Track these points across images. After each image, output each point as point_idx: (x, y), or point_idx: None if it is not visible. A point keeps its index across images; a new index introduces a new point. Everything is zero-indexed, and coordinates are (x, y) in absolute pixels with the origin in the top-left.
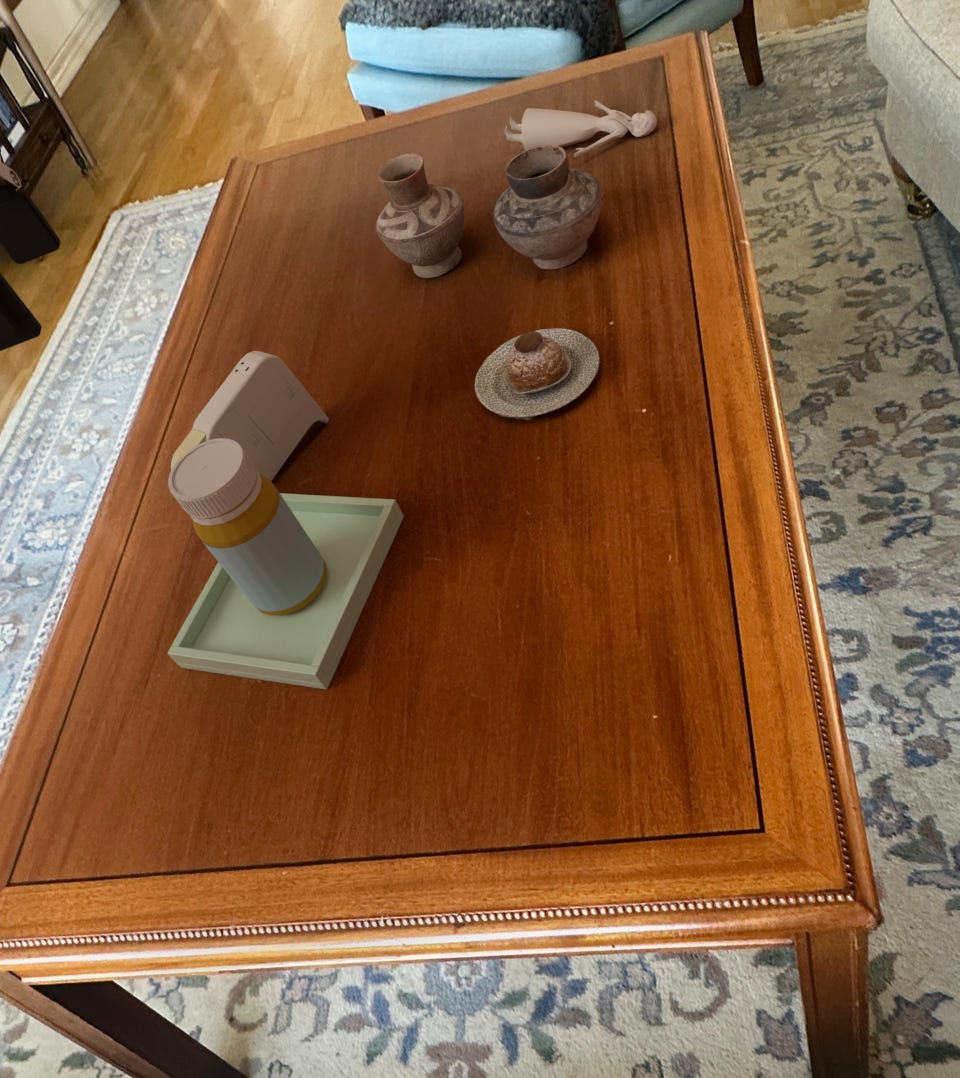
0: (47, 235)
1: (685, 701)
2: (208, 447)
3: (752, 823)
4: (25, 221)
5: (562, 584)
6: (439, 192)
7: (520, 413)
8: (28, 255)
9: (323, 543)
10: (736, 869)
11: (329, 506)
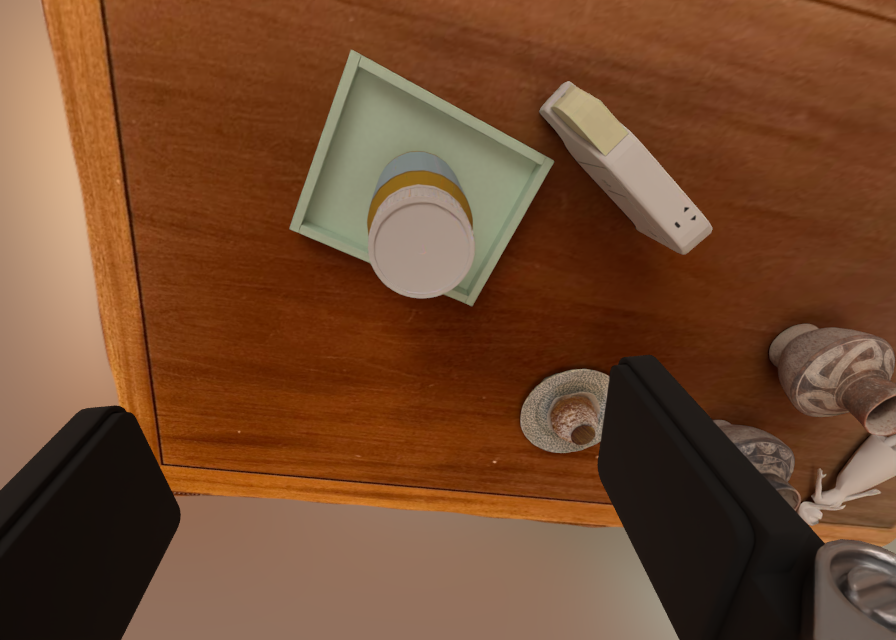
0: (616, 506)
1: (247, 446)
2: (463, 249)
3: (166, 461)
4: (651, 545)
5: (355, 398)
6: (841, 411)
7: (530, 398)
8: (612, 411)
9: None
10: None
11: (497, 240)
